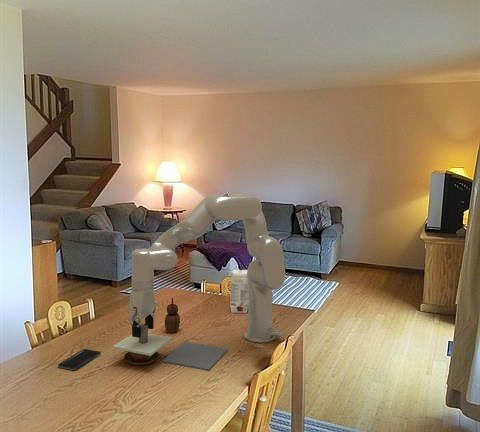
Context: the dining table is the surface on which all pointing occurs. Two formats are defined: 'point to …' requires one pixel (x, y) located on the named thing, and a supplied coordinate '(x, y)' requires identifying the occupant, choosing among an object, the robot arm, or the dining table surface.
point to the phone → (79, 360)
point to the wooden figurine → (172, 318)
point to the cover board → (143, 347)
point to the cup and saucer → (140, 358)
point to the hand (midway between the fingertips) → (143, 332)
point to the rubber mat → (195, 355)
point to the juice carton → (239, 291)
